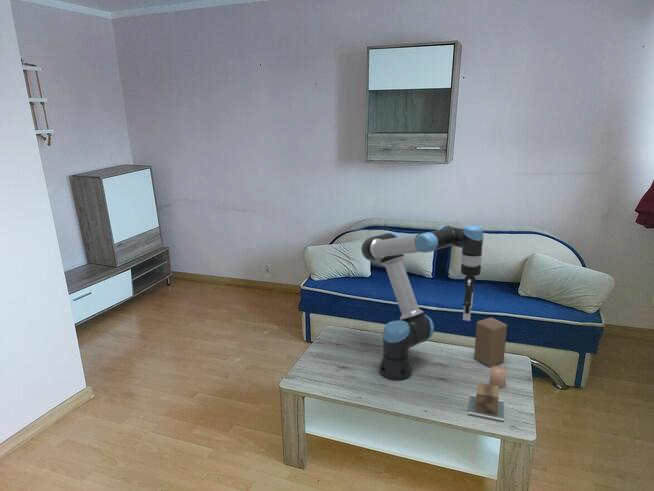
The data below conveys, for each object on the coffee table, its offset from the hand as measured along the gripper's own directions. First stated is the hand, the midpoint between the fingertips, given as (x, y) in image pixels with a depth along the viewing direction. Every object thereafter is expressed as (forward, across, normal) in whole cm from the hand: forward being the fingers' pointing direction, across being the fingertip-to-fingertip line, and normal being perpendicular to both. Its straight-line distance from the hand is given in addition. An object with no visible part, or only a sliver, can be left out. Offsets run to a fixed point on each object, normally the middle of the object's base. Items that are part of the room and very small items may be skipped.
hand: (467, 313), depth 179 cm
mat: (+35, -12, -10) cm, 38 cm away
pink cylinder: (+35, +8, -14) cm, 38 cm away
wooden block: (+35, +27, -10) cm, 45 cm away
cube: (+34, -12, -10) cm, 38 cm away
